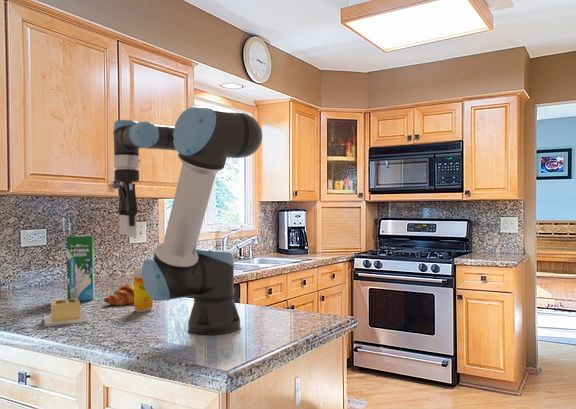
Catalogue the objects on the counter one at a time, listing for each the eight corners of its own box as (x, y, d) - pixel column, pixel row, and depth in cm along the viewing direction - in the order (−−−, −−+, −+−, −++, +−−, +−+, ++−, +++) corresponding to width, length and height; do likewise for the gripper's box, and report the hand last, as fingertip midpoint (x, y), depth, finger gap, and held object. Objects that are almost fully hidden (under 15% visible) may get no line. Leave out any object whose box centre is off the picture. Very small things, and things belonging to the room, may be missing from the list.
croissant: (152, 305, 190) (147, 286, 193) (165, 296, 184) (160, 277, 187) (101, 314, 175) (96, 293, 177) (113, 304, 169) (108, 283, 172)
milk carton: (94, 296, 193) (93, 234, 193) (93, 300, 185) (92, 235, 185) (70, 297, 191) (69, 235, 191) (67, 302, 182) (66, 236, 182)
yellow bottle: (147, 312, 162) (146, 268, 162) (130, 312, 164) (130, 268, 164) (155, 308, 168) (155, 266, 168) (139, 308, 170) (139, 265, 170)
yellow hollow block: (80, 318, 151) (80, 302, 151) (52, 321, 148) (51, 305, 148) (78, 313, 158) (77, 298, 158) (51, 316, 155) (50, 300, 155)
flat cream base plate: (87, 321, 150) (87, 302, 150) (44, 326, 145) (44, 307, 145) (84, 314, 161) (83, 296, 161) (44, 318, 155) (43, 300, 155)
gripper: (146, 166, 144) (147, 237, 144) (131, 172, 166) (132, 233, 166) (120, 166, 141) (121, 238, 141) (108, 171, 163) (109, 234, 163)
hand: (127, 235), depth 153 cm, fingers open, 13 cm apart
